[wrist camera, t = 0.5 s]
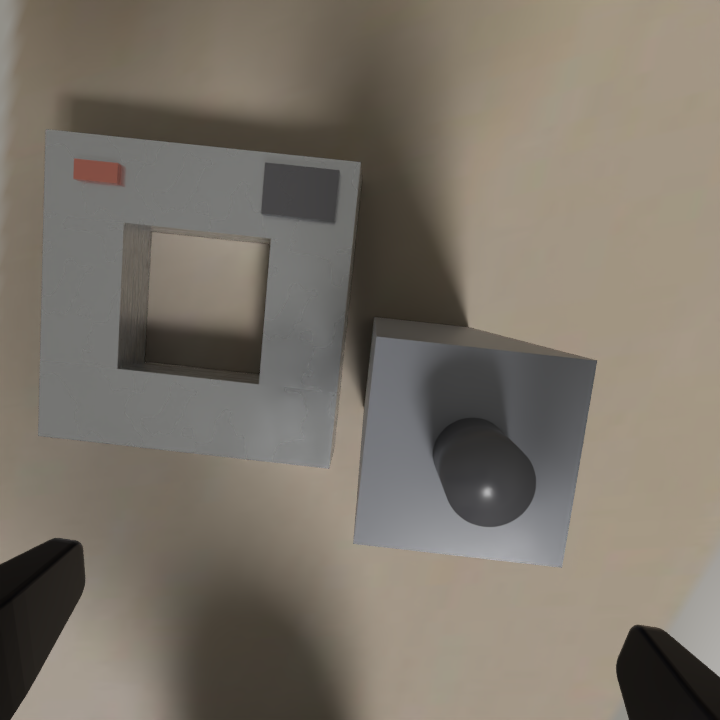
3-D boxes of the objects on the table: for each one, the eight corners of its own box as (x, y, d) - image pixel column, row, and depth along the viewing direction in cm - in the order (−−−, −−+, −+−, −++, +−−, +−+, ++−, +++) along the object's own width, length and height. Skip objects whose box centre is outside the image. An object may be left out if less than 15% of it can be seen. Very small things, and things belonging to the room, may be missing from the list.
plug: (456, 419, 23) (596, 616, 9) (363, 409, 23) (349, 587, 9) (468, 327, 23) (641, 371, 8) (374, 316, 23) (377, 343, 8)
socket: (333, 450, 23) (328, 471, 21) (73, 421, 24) (31, 438, 21) (362, 177, 22) (360, 159, 19) (82, 148, 22) (38, 125, 19)
